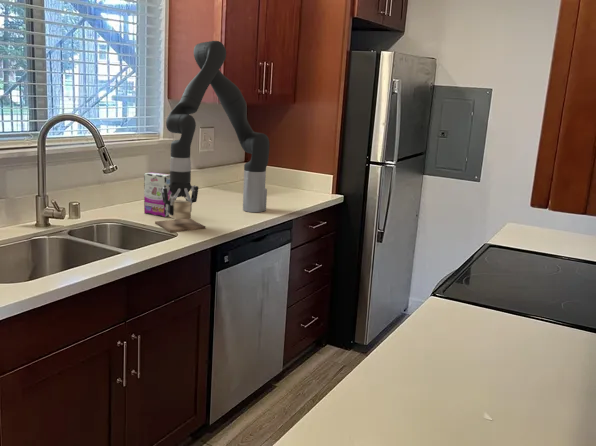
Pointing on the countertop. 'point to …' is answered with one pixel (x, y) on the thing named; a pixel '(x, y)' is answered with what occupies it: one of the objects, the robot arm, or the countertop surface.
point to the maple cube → (181, 209)
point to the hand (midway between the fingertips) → (179, 214)
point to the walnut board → (179, 225)
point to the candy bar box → (155, 193)
